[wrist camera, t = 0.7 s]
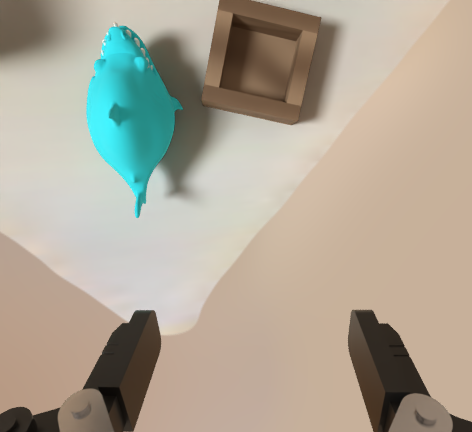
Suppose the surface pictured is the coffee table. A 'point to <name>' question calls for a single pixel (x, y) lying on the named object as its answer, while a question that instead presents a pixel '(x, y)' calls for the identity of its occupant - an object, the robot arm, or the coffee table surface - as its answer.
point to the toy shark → (129, 110)
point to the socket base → (259, 60)
